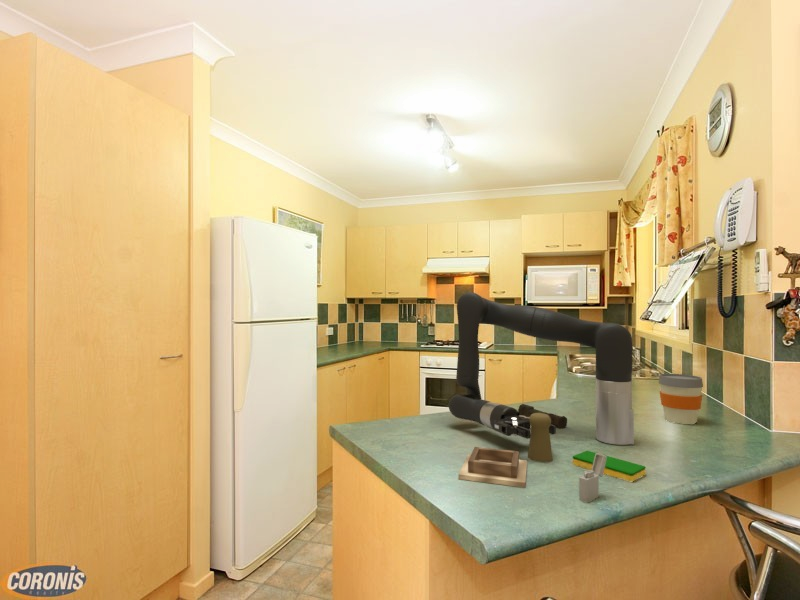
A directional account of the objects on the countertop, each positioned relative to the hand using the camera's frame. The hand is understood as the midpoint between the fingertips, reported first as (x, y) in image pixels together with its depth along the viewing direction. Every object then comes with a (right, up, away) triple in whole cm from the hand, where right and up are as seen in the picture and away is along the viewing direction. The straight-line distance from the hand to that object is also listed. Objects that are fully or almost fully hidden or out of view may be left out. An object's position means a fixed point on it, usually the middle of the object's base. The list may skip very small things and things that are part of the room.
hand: (542, 432), depth 107 cm
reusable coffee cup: (+59, -8, +37) cm, 70 cm away
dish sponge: (+13, -7, -7) cm, 16 cm away
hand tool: (+11, -8, +35) cm, 38 cm away
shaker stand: (-14, -6, -9) cm, 18 cm away
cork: (0, -7, +1) cm, 7 cm away
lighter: (+3, -6, -22) cm, 23 cm away
